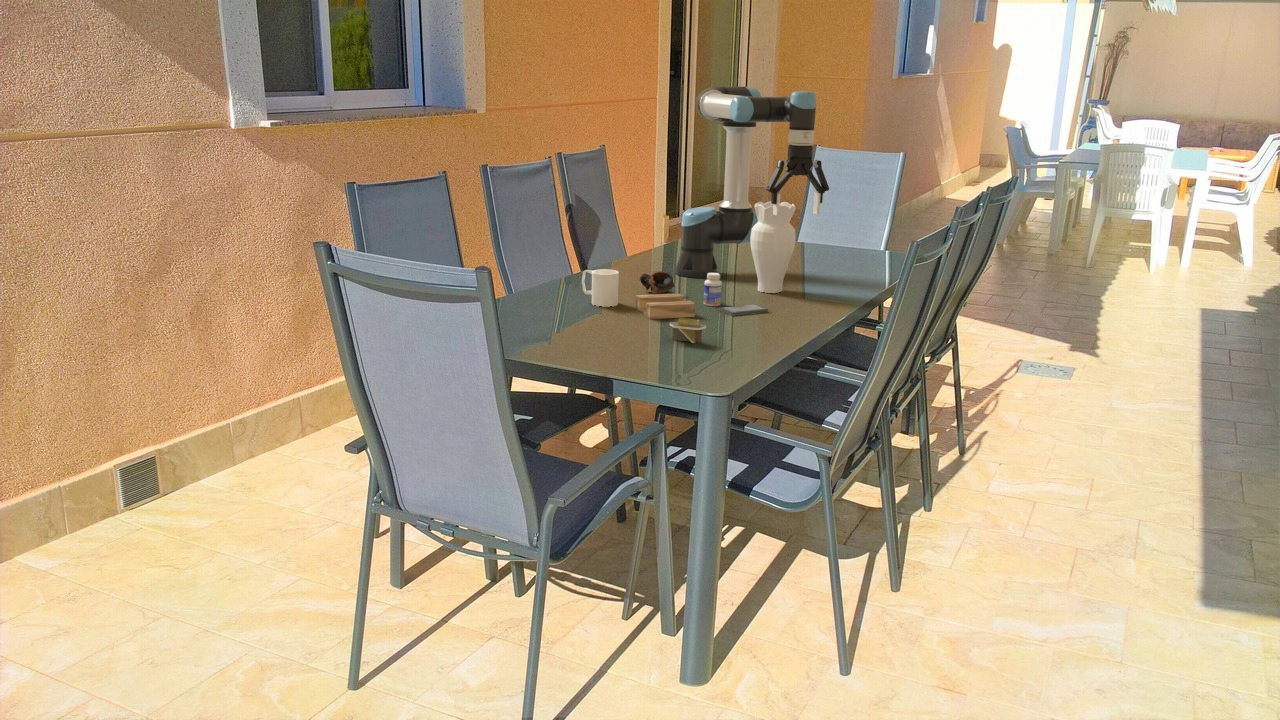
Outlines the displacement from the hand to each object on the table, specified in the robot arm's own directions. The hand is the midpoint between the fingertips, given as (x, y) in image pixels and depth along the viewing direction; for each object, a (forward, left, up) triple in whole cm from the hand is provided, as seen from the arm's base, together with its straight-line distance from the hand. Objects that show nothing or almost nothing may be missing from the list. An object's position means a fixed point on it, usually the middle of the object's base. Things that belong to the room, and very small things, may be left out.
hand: (796, 214), depth 312 cm
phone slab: (+8, -19, -28) cm, 35 cm away
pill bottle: (-3, -25, -28) cm, 38 cm away
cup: (-12, -59, -28) cm, 67 cm away
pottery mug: (-22, -37, -28) cm, 52 cm away
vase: (-17, +1, -28) cm, 33 cm away
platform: (+37, -48, -29) cm, 67 cm away
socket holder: (+4, -43, -28) cm, 52 cm away
